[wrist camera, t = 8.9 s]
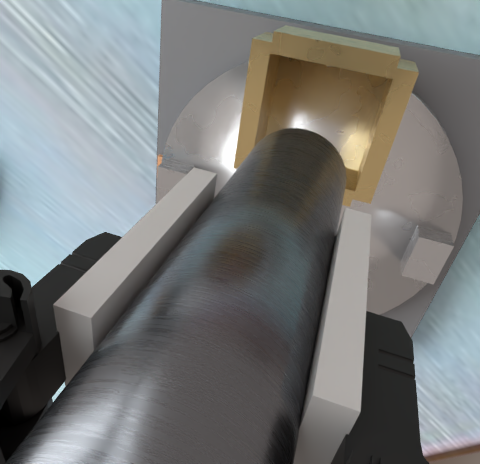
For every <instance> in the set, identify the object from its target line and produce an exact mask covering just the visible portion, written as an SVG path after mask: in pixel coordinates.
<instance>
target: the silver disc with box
mask: <svg viewBox="0 0 480 464" xmlns="http://www.w3.org/2000/svg"><path fill="white" fill-rule="evenodd" d="M400 57H401V55H400V51H399V47H394V46H388V45H383V44H378V43H373V42H368V41H363V40H358V39H353V38H348V37H343V36H338V35H333V34H327V33H322V32H317V31H312V30H307V29H302V28H297V27H292V26H287V25H286V26H283V27H281V28H279V29H277V30H275V31H274V33H270V32H265V33H263V34H261V35H258V36H256V37H254V38H252V43H251V50H250V57H249V61H247V62H244V63H242V64H240V65H238V66H236V67H234V68H232V69H230V70H228V71H227V72H225V73H223V74H222V75H220V76H219V77H217V78H216V79H214V80H213V81H211V82H210V83H208V84H207V85H206V86H205V87H204V88H203V89H202V90H201V91H200V92H198V93H197V94H196V95H195V96H194V97H193V98H192V99H191V101H190V102H189V103H188V104H187V106H186V107H185V108H184V109H183V111H182V112H181V114H180V115H179V117H178V119H177V120H176V122H175V124H174V125H173V127H172V130H171V132H170V134H169V137H168V139H167V142H166V145H165V149H164V153H163V157H162V163H161V164H160V165H159V166H158V173H157V203H158V202H159V201H160V200H161V199H162V198H163V197H164V196H165V195H166V194H167V193H168V192H169V191H170V190H171V189H172V188H173V187H174V186H175V185H176V184H177V183H178V182H180V181H181V180H182V179H183V178H184V177H185V176H186V175H187V174H188V173H189V172H190V171H191V170H192V169H193V168H194V167H195V168H198V169H202V170H206V171H210V172H213V173H217V179H216V187H215V195H214V198H215V196H216V195H217V194H218V193H219V191H220V190H221V189H222V187H223V186H224V185H225V184H226V182H227V181H228V180H229V179H230V177H231V176H232V175H233V173H234V172H235V171H236V170H237V168H238V167H239V166H240V165H241V163H242V162H243V161H244V160H245V158H246V157H247V156H248V154H249V153H250V152H251V151H252V149H253V148H254V147H255V146H256V144H257V143H258V142H259V141H260V140H261V139H263V138H264V137H265V136H267V135H269V134H270V133H272V132H275V131H278V130H281V129H287V128H300V129H306V130H309V131H313V132H315V133H317V134H319V135H321V136H323V137H324V138H326V139H327V140H328V141H329V142H331V143H332V145H333V146H334V147H335V148H336V149H337V151H338V152H339V153H340V155H341V157H342V159H343V162H344V165H345V169H346V187H345V192H344V197H343V203H342V208H341V213H340V219H339V224H338V228H339V225H340V222H341V219H342V216H343V213H344V210H345V208H348V209H352V210H356V211H359V212H363V213H367V214H371V233H370V251H369V269H368V287H367V305H366V311H368V312H372V313H375V314H378V315H380V314H383V313H385V312H387V311H389V310H391V309H393V308H395V307H397V306H399V305H400V304H402V303H403V302H405V301H406V300H408V299H409V298H411V297H412V296H414V295H415V294H416V293H417V292H418V291H420V290H421V289H422V288H423V287H424V286H425V285H426V284H427V283H430V284H433V285H434V283H435V281H436V279H437V277H438V275H439V273H440V272H441V270H442V268H443V266H444V264H445V262H446V260H447V259H448V257H449V255H450V253H451V251H452V249H453V247H454V242H455V239H456V237H457V233H458V229H459V225H460V222H461V215H462V204H463V193H462V179H461V175H460V171H459V167H458V162H457V158H456V156H455V154H454V151H453V149H452V146H451V144H450V142H449V139H448V137H447V134H446V132H445V130H444V129H443V127H442V126H441V124H440V122H439V121H438V119H437V117H436V116H435V114H434V113H433V112H432V110H431V109H430V108H429V107H428V106H427V105H426V104H425V102H424V101H423V100H422V99H421V98H420V97H419V96H418V95H417V94H416V93H415V92H414V91H413V88H414V85H415V82H416V79H417V77H418V74H419V71H418V68H417V66H416V63H415V62H414V61H409V60H404V59H400ZM337 231H338V229H337Z"/></svg>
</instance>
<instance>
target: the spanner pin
mask: <svg viewBox="0 0 480 464" xmlns="http://www.w3.org/2000/svg"><path fill="white" fill-rule="evenodd" d="M345 187H346V169H345V165H344V162H343V159H342V157H341V155H340V153H339V152H338V151H337V149H336V148H335V147H334V146H333V145H332V143H331V142H329V141H328V140H327V139H326V138H324V137H323V136H321V135H319V134H317V133H315V132H313V131H309V130H306V129H300V128H287V129H281V130H278V131H275V132H272V133H270V134H269V135H267V136H265V137H264V138H263V139H261V140H260V141H259V142H258V143H257V144H256V146H255V147H254V148H253V149H252V151H251V152H250V153H249V154H248V156H247V157H246V158H245V160H244V161H243V162H242V163H241V165H240V166H239V167H238V168H237V170H236V171H235V172H234V173H233V175H232V176H231V177H230V179H229V180H228V181H227V182H226V184H225V185H224V186H223V187H222V189H221V190H220V191H219V193H218V194H217V195H216V196H215V198H214V199H213V200H212V201H211V203H210V204H209V205H208V206H207V208H206V209H205V210H204V212H203V213H202V214H201V215H200V217H199V218H198V219H197V220H196V222H195V223H194V224H193V226H192V227H191V228H190V229H189V231H188V232H187V233H186V234H185V236H184V237H183V238H182V240H181V241H180V242H179V243H178V245H177V246H176V247H175V248H174V250H173V251H172V252H171V253H170V255H169V256H168V257H167V259H166V260H165V261H164V262H163V264H162V265H161V266H160V267H159V269H158V270H157V271H156V273H155V274H154V275H153V276H152V278H151V279H150V280H149V281H148V283H147V284H146V285H145V286H144V288H143V289H142V290H141V292H140V293H139V294H138V295H137V297H136V298H135V299H134V300H133V302H132V303H131V304H130V306H129V307H128V308H127V309H126V311H125V312H124V313H123V314H122V316H121V317H120V318H119V320H118V321H117V322H116V323H115V325H114V326H113V327H112V328H111V330H110V331H109V332H108V333H107V335H106V336H105V337H104V339H103V340H102V341H101V342H100V344H99V345H98V346H97V347H96V349H95V350H94V351H93V353H92V354H91V355H90V356H89V358H88V359H87V360H86V361H85V363H84V364H83V365H82V367H81V368H80V369H79V370H78V372H77V373H76V374H75V375H74V377H73V378H72V379H71V380H70V382H69V383H68V384H67V386H66V387H65V388H64V389H63V391H62V392H61V393H60V394H59V396H58V397H57V398H56V400H55V401H54V402H53V403H52V405H51V406H50V407H49V408H48V410H47V411H46V412H45V413H44V415H43V416H42V417H41V419H40V420H39V421H38V422H37V424H36V425H35V426H34V427H33V429H32V430H31V431H30V433H29V434H28V435H27V436H26V438H25V439H24V440H23V441H22V443H21V444H20V445H19V447H18V448H17V449H16V450H15V452H14V453H13V454H12V455H11V457H10V458H9V459H8V460H7V462H6V463H5V464H293V463H294V457H295V452H296V447H297V441H298V434H299V426H300V421H301V416H302V411H303V405H304V400H305V395H306V390H307V384H308V379H309V374H310V369H311V363H312V358H313V353H314V348H315V342H316V337H317V332H318V327H319V321H320V316H321V311H322V306H323V300H324V295H325V290H326V285H327V280H328V274H329V269H330V264H331V259H332V253H333V248H334V243H335V238H336V234H337V229H338V224H339V219H340V213H341V208H342V203H343V197H344V192H345Z"/></svg>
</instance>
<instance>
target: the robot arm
mask: <svg viewBox="0 0 480 464" xmlns="http://www.w3.org/2000/svg"><path fill="white" fill-rule="evenodd" d="M216 179H217V173H213V172H210V171H206V170H202V169H198V168H195V167H194V168H193V169H192V170H191V171H190V172H189V173H188V174H187V175H186V176H185V177H184V178H183V179H182V180H181V181H180V182H178V183H177V184H176V185H175V186H174V187H173V188H172V189H171V190H170V191H169V192H168V193H167V194H166V195H165V196H164V197H163V198H162V199H161V200H160V201H159V202H158V203H157V204H156V205H155V206H154V207H153V208H152V209H151V210H150V211H149V212H148V213H147V214H146V215H145V216H144V217H143V218H142V219H141V220H139V221H138V222H137V223H136V224H135V225H134V226H133V227H132V228H131V229H130V230H129V231H128V232H127V233H126V234H125V235H124V236H123V237H120V236H116V235H113V234H110V233H107V232H104V233H102V234H99V235H97V236H95V237H92V238H90V239H88V240H86V241H85V242H84V243H82V244H81V245H80V246H79V247H78V248H77V249H75V250H74V251H73V253H72V255H69V256H67V257H66V258H65V259H64V260H63V261H62V262H61V264H60V265H59V264H58V265H57V266H56V267H55V268H54V269H52V270H51V271H50V272H49V273H48V274H47V275H45V276H44V277H43V278H42V279H41V280H40V281H39V282H37V283H36V284H35V285H34V286H33V287H32V288H31V283H30V281H29V280H28V279H27V278H26V277H25V276H24V275H23V274H20V273H18V272H15V271H12V270H0V464H5V463H6V462H7V460H8V459H9V458H10V457H11V455H12V454H13V453H14V452H15V450H16V449H17V448H18V447H19V445H20V444H21V443H22V441H23V440H24V439H25V438H26V436H27V435H28V434H29V433H30V431H31V430H32V429H33V427H34V426H35V425H36V424H37V422H38V421H39V420H40V419H41V417H42V416H43V415H44V413H45V412H46V411H47V410H48V408H49V407H50V406H51V405H52V403H53V401H52V396H53V395H54V394H55V393H56V391H57V390H58V389H59V388H60V386H61V385H62V384H63V383H64V381H65V386H67V384H68V383H69V382H70V380H71V379H72V378H73V377H74V375H75V374H76V373H77V372H78V370H79V369H80V368H81V367H82V365H83V364H84V363H85V361H86V360H87V359H88V358H89V356H90V355H91V354H92V353H93V351H94V350H95V349H96V347H97V346H98V345H99V344H100V342H101V341H102V340H103V339H104V337H105V336H106V335H107V333H108V332H109V331H110V330H111V328H112V327H113V326H114V325H115V323H116V322H117V321H118V320H119V318H120V317H121V316H122V314H123V313H124V312H125V311H126V309H127V308H128V307H129V306H130V304H131V303H132V302H133V300H134V299H135V298H136V297H137V295H138V294H139V293H140V292H141V290H142V289H143V288H144V286H145V285H146V284H147V283H148V281H149V280H150V279H151V278H152V276H153V275H154V274H155V273H156V271H157V270H158V269H159V267H160V266H161V265H162V264H163V262H164V261H165V260H166V259H167V257H168V256H169V255H170V253H171V252H172V251H173V250H174V248H175V247H176V246H177V245H178V243H179V242H180V241H181V240H182V238H183V237H184V236H185V234H186V233H187V232H188V231H189V229H190V228H191V227H192V226H193V224H194V223H195V222H196V220H197V219H198V218H199V217H200V215H201V214H202V213H203V212H204V210H205V209H206V208H207V206H208V205H209V204H210V203H211V201H212V200H213V199H214V195H215V187H216ZM370 233H371V214H367V213H363V212H359V211H356V210H352V209H348V208H345V210H344V213H343V216H342V219H341V222H340V225H339V228H338V231H337V234H336V238H335V243H334V248H333V253H332V259H331V264H330V269H329V274H328V280H327V285H326V290H325V295H324V300H323V306H322V311H321V316H320V321H319V327H318V332H317V337H316V342H315V348H314V353H313V358H312V363H311V369H310V374H309V379H308V384H307V390H306V395H305V400H304V405H303V411H302V416H301V421H300V426H299V434H298V441H297V447H296V452H295V457H294V463H293V464H429V463H428V462H427V460H426V459H425V458H424V456H423V453H422V448H421V443H420V431H419V418H418V405H417V393H416V380H414V379H415V367H414V364H413V361H414V354H413V341H412V339H411V337H410V336H409V334H408V332H407V330H406V328H405V326H404V325H403V323H402V322H401V321H398V320H394V319H391V318H388V317H385V316H381V315H378V314H375V313H372V312H368V311H366V305H367V287H368V269H369V251H370Z"/></svg>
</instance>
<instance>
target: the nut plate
mask: <svg viewBox="0 0 480 464" xmlns="http://www.w3.org/2000/svg"><path fill="white" fill-rule="evenodd" d="M286 25H287V26H292V27H297V28H302V29H307V30H312V31H317V32H322V33H327V34H333V35H338V36H343V37H348V38H353V39H358V40H363V41H368V42H373V43H378V44H383V45H388V46H394V47H399V51H400V55H401V57H400V59H404V60H409V61H414V62H415V63H416V66H417V68H418V71H419V74H418V77H417V79H416V82H415V85H414V88H413V91H414V92H415V93H416V94H417V95H418V96H419V97H420V98H421V99H422V100H423V101H424V102H425V104H426V105H427V106H428V107H429V108H430V109H431V110H432V112H433V113H434V114H435V116H436V117H437V119H438V121H439V122H440V124H441V126H442V127H443V129H444V130H445V132H446V134H447V137H448V139H449V142H450V144H451V146H452V149H453V151H454V154H455V156H456V158H457V162H458V167H459V171H460V175H461V179H462V193H463V204H462V215H461V222H460V225H459V229H458V233H457V237H456V239H455V242H454V247H453V249H452V251H451V253H450V255H449V257H448V259H447V260H446V262H445V264H444V266H443V268H442V270H441V272H440V273H439V275H438V277H437V279H436V281H435V283H434V285H433V284H430V283H427V284H426V285H425V286H424V287H423V288H422V289H421V290H420V291H418V292H417V293H416V294H415V295H414V296H412V297H411V298H409V299H408V300H406V301H405V302H403V303H402V304H400V305H399V306H397V307H395V308H393V309H391V310H389V311H387V312H385V313H383V314H380V315H381V316H385V317H388V318H391V319H394V320H398V321H401V322H402V323H403V325H404V326H405V328H406V330H407V332H408V334H409V336H410V337H412V336H413V334H414V332H415V330H416V328H417V326H418V325H419V323H420V321H421V319H422V317H423V316H424V314H425V312H426V310H427V308H428V306H429V305H430V303H431V301H432V299H433V297H434V296H435V294H436V292H437V290H438V288H439V286H440V285H441V283H442V281H443V279H444V277H445V276H446V274H447V272H448V270H449V268H450V266H451V265H452V263H453V261H454V259H455V257H456V256H457V254H458V252H459V250H460V248H461V246H462V245H463V243H464V241H465V239H466V237H467V236H468V234H469V232H470V230H471V228H472V226H473V225H474V223H475V221H476V219H477V217H478V216H479V214H480V55H475V54H470V53H464V52H459V51H454V50H449V49H444V48H439V47H433V46H428V45H423V44H418V43H413V42H408V41H402V40H397V39H392V38H387V37H382V36H377V35H372V34H366V33H361V32H356V31H351V30H346V29H341V28H335V27H330V26H325V25H320V24H315V23H310V22H304V21H299V20H294V19H289V18H284V17H279V16H274V15H268V14H263V13H258V12H253V11H248V10H243V9H237V8H232V7H227V6H222V5H217V4H212V3H206V2H201V1H196V0H162V10H161V43H160V76H159V109H158V142H157V173H158V166H159V165H160V164H161V163H162V157H163V153H164V149H165V145H166V142H167V139H168V137H169V134H170V132H171V130H172V127H173V125H174V124H175V122H176V120H177V119H178V117H179V115H180V114H181V112H182V111H183V109H184V108H185V107H186V106H187V104H188V103H189V102H190V101H191V99H192V98H193V97H194V96H195V95H196V94H197V93H198V92H200V91H201V90H202V89H203V88H204V87H205V86H206V85H207V84H208V83H210V82H211V81H213V80H214V79H216V78H217V77H219V76H220V75H222V74H223V73H225V72H227V71H228V70H230V69H232V68H234V67H236V66H238V65H240V64H242V63H244V62H247V61H249V57H250V50H251V43H252V38H254V37H256V36H258V35H261V34H263V33H265V32H270V33H274V31H275V30H277V29H279V28H281V27H283V26H286ZM156 204H157V175H156Z"/></svg>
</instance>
